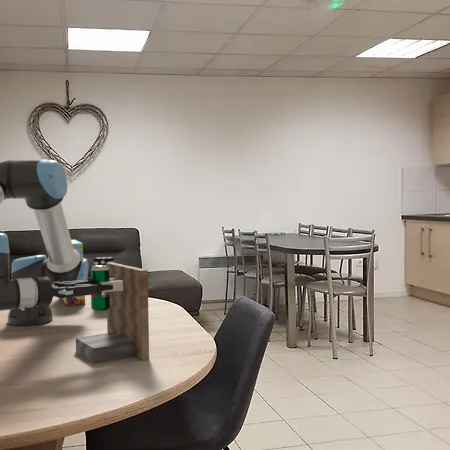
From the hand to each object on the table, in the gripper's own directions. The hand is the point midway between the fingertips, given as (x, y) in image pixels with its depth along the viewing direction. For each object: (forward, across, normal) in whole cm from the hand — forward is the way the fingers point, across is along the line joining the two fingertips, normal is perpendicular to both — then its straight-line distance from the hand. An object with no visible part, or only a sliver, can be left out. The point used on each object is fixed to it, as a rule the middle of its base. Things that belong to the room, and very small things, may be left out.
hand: (118, 284), depth 159 cm
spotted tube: (+22, -65, -19) cm, 71 cm away
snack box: (+16, -88, -19) cm, 91 cm away
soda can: (-5, 0, -7) cm, 9 cm away
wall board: (-3, 0, -19) cm, 19 cm away
